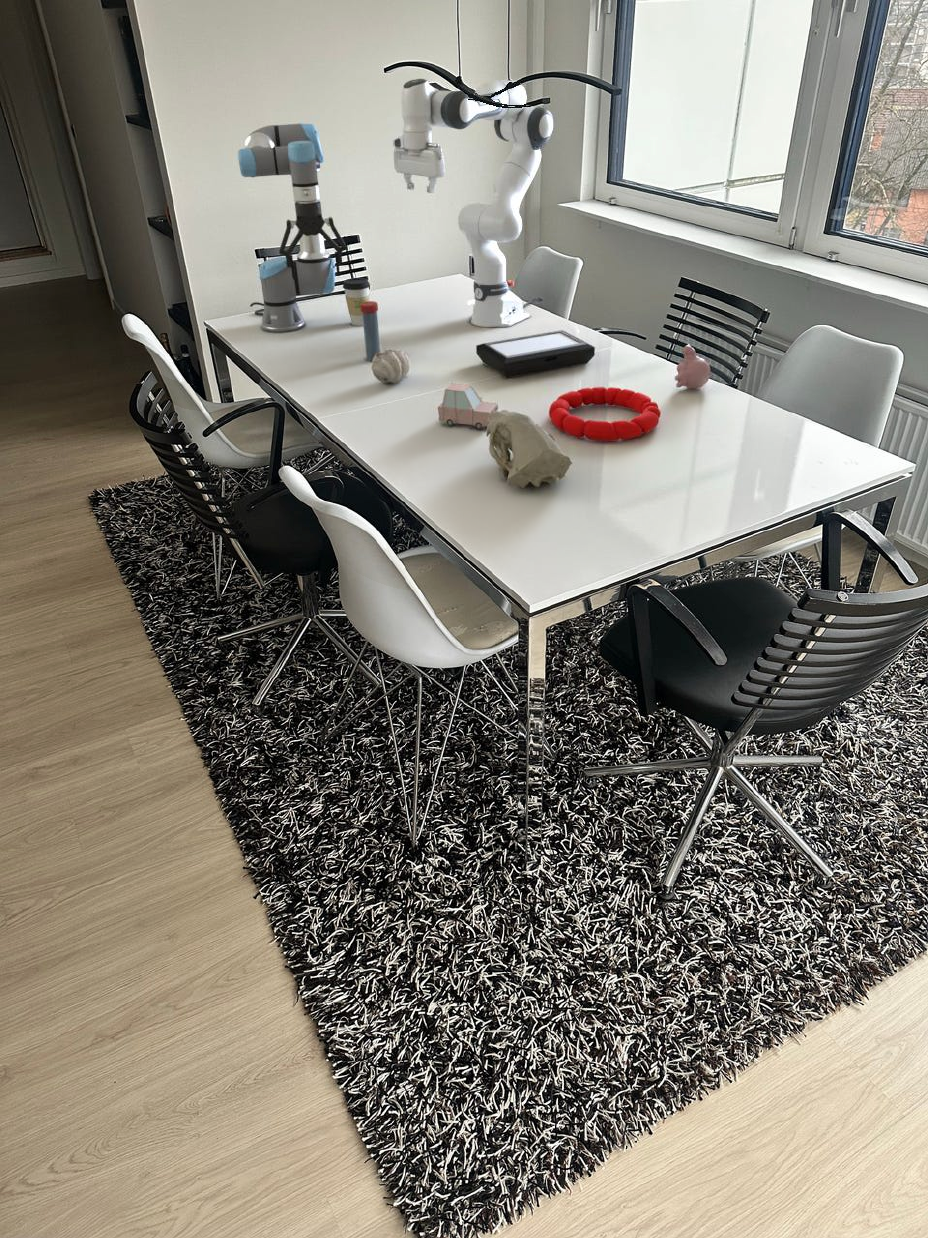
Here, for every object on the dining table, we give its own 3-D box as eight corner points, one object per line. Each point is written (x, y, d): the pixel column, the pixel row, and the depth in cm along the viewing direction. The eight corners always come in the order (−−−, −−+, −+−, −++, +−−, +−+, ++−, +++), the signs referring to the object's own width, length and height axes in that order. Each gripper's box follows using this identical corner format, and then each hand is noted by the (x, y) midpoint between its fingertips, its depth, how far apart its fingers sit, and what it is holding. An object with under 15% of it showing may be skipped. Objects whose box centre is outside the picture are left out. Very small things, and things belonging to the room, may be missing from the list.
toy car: (488, 432, 240) (488, 396, 234) (436, 426, 244) (434, 390, 239) (499, 419, 247) (499, 384, 241) (448, 413, 252) (447, 379, 246)
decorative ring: (589, 435, 224) (684, 402, 234) (527, 398, 247) (617, 369, 256) (589, 461, 229) (683, 427, 238) (529, 422, 251) (617, 393, 260)
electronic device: (503, 360, 269) (476, 342, 284) (503, 380, 272) (476, 362, 287) (595, 344, 279) (563, 327, 294) (594, 364, 283) (563, 346, 298)
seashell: (364, 381, 275) (361, 349, 270) (407, 372, 281) (405, 341, 275) (377, 391, 268) (374, 358, 262) (421, 382, 273) (420, 349, 268)
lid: (374, 313, 282) (373, 306, 281) (358, 312, 283) (357, 305, 282) (380, 308, 286) (380, 301, 285) (364, 307, 288) (364, 300, 286)
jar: (377, 361, 291) (372, 307, 281) (364, 360, 292) (359, 306, 283) (383, 357, 295) (378, 303, 285) (369, 355, 296) (365, 302, 286)
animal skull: (496, 517, 219) (521, 479, 201) (463, 429, 225) (484, 384, 207) (557, 503, 225) (586, 465, 206) (523, 417, 231) (549, 373, 212)
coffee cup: (372, 326, 323) (368, 283, 314) (345, 327, 323) (340, 284, 315) (374, 318, 331) (371, 276, 322) (348, 319, 331) (344, 277, 323)
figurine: (665, 387, 264) (669, 347, 257) (693, 380, 268) (698, 340, 261) (686, 396, 257) (690, 355, 250) (714, 388, 262) (720, 348, 255)
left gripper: (264, 205, 256) (275, 282, 268) (350, 200, 259) (357, 276, 271) (264, 201, 262) (275, 276, 274) (349, 196, 265) (356, 270, 277)
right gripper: (448, 142, 268) (450, 192, 276) (404, 137, 280) (407, 186, 288) (433, 144, 264) (435, 195, 272) (389, 140, 277) (392, 188, 285)
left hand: (316, 276), depth 273 cm, fingers open, 13 cm apart
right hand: (420, 190), depth 280 cm, fingers open, 8 cm apart
